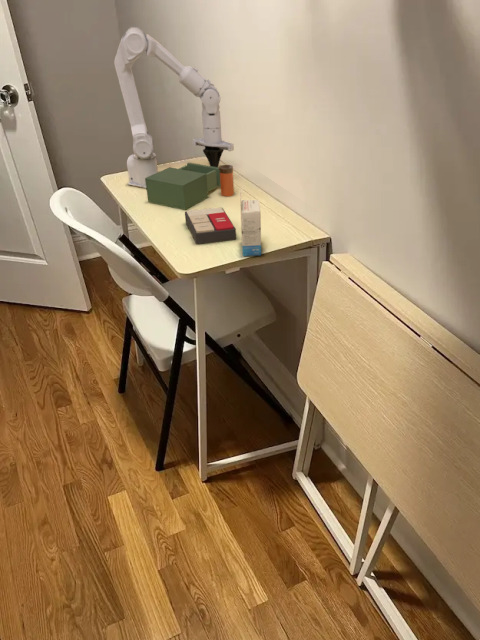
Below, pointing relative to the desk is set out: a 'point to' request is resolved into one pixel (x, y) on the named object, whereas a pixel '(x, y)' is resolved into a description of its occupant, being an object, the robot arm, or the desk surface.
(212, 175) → the drawer
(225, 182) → the spice jar
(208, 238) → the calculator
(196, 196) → the cabinet
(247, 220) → the ink box
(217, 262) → the desk surface
